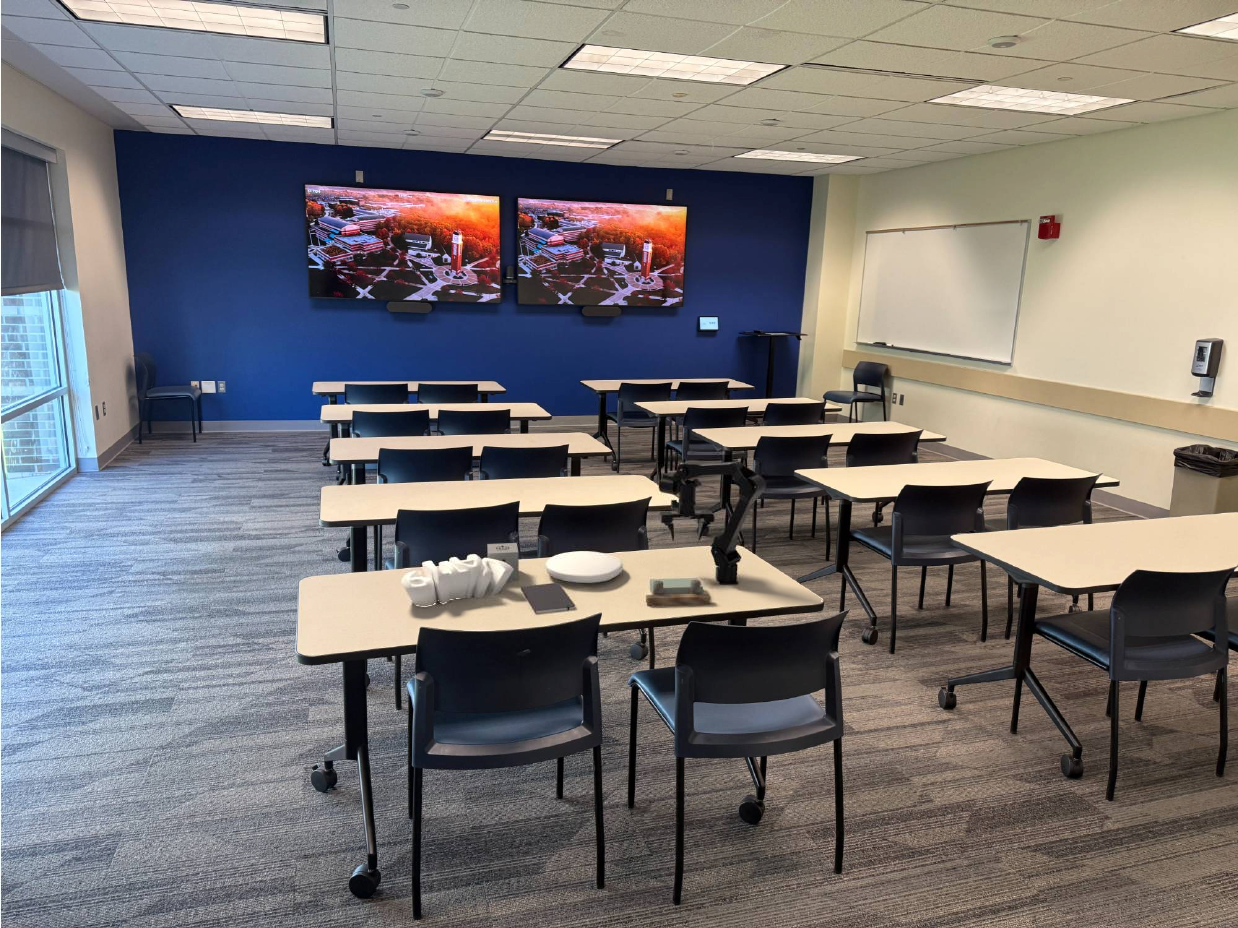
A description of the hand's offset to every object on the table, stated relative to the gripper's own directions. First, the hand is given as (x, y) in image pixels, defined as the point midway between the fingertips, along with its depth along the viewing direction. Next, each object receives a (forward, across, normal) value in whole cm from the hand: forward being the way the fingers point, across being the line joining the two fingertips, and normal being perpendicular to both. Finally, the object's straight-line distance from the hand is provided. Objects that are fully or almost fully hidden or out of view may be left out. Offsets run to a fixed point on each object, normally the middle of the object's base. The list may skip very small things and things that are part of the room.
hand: (685, 540), depth 283 cm
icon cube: (+11, +64, 0) cm, 64 cm away
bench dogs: (+11, +8, +28) cm, 31 cm away
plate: (+11, +36, +1) cm, 37 cm away
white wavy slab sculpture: (+11, +78, +17) cm, 81 cm away
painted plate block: (+12, +7, +21) cm, 25 cm away
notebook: (+12, +49, +22) cm, 55 cm away
